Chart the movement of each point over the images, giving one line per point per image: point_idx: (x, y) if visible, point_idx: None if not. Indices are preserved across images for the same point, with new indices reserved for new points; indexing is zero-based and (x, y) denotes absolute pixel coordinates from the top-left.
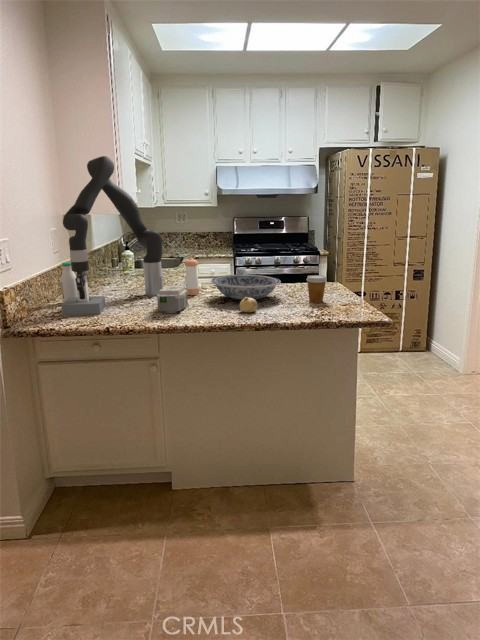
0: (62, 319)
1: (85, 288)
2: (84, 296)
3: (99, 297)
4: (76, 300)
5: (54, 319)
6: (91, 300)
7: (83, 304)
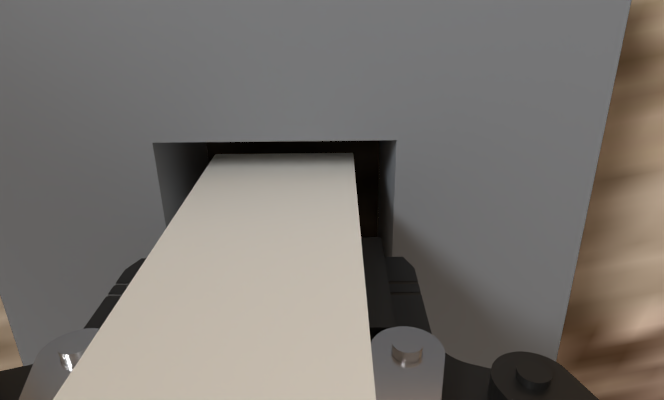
0: (636, 330)
1: (367, 338)
2: (382, 259)
3: (38, 7)
4: None
5: (602, 394)
6: (313, 119)
7: (587, 198)
